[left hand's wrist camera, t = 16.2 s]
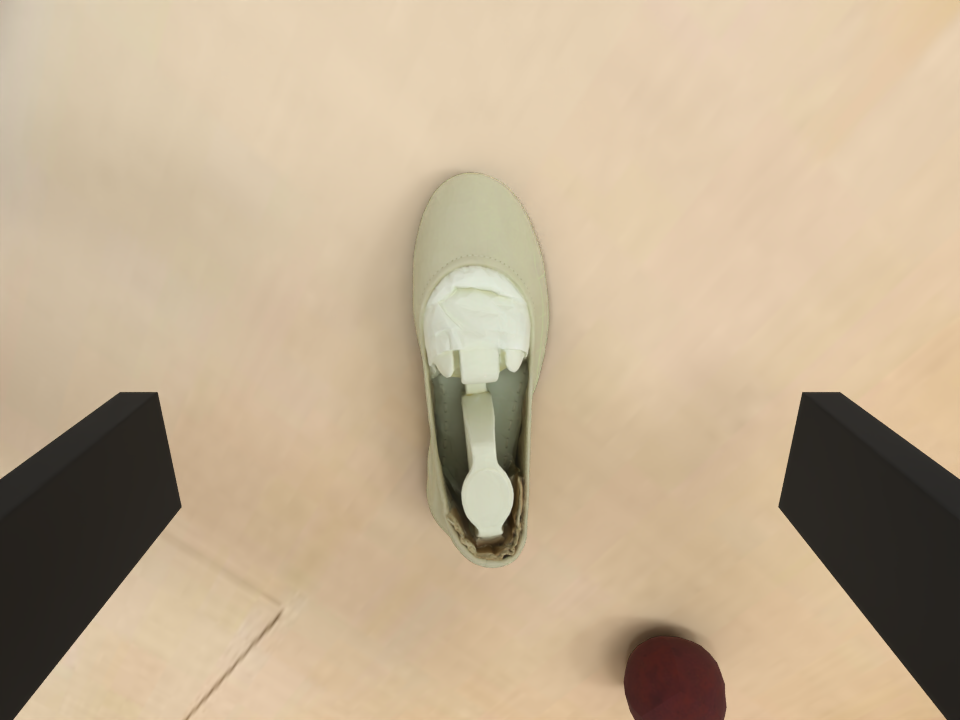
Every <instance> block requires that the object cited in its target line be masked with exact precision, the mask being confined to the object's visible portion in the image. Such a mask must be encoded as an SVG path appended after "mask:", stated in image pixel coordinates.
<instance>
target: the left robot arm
mask: <svg viewBox="0 0 960 720" xmlns="http://www.w3.org/2000/svg"><path fill="white" fill-rule="evenodd" d="M180 508H181V502H180V497H179V492H178V487H177V483H176V478H175V473H174V468H173V464H172V459H171V454H170V449H169V444H168V440H167V435H166V430H165V425H164V421H163V416H162V411H161V406H160V401H159V397H158V392H120V393H118V394H117V395H116V396H114V397H113V398H111V399H110V400H109V401H107V402H106V403H105V404H103V405H102V406H100V407H99V408H98V409H96V410H95V411H94V412H92V413H91V414H89V415H88V416H87V417H85V418H84V419H83V420H81V421H80V422H78V423H77V424H76V425H74V426H73V427H72V428H70V429H69V430H67V431H66V432H65V433H63V434H62V435H61V436H59V437H58V438H56V439H55V440H54V441H52V442H51V443H50V444H48V445H47V446H45V447H44V448H43V449H41V450H40V451H39V452H37V453H36V454H34V455H33V456H32V457H30V458H29V459H28V460H26V461H25V462H23V463H22V464H21V465H19V466H18V467H17V468H15V469H14V470H12V471H11V472H10V473H8V474H7V475H6V476H4V477H3V478H2V479H0V720H13V719H14V718H15V717H16V715H17V714H18V713H19V712H20V710H21V709H22V708H23V707H24V705H25V704H26V703H27V702H28V700H29V699H30V698H31V696H32V695H33V694H34V693H35V691H36V690H37V689H38V688H39V686H40V685H41V684H42V683H43V681H44V680H45V679H46V678H47V676H48V675H49V674H50V672H51V671H52V670H53V669H54V667H55V666H56V665H57V664H58V662H59V661H60V660H61V659H62V657H63V656H64V655H65V654H66V652H67V651H68V650H69V648H70V647H71V646H72V645H73V643H74V642H75V641H76V640H77V638H78V637H79V636H80V635H81V633H82V632H83V631H84V630H85V628H86V627H87V626H88V625H89V623H90V622H91V621H92V619H93V618H94V617H95V616H96V614H97V613H98V612H99V611H100V609H101V608H102V607H103V606H104V604H105V603H106V602H107V601H108V599H109V598H110V597H111V595H112V594H113V593H114V592H115V590H116V589H117V588H118V587H119V585H120V584H121V583H122V582H123V580H124V579H125V578H126V577H127V575H128V574H129V573H130V571H131V570H132V569H133V568H134V566H135V565H136V564H137V563H138V561H139V560H140V559H141V558H142V556H143V555H144V554H145V553H146V551H147V550H148V549H149V547H150V546H151V545H152V544H153V542H154V541H155V540H156V539H157V537H158V536H159V535H160V534H161V532H162V531H163V530H164V529H165V527H166V526H167V525H168V523H169V522H170V521H171V520H172V518H173V517H174V516H175V515H176V513H177V512H178V511H179V510H180ZM779 508H780V510H781V511H782V512H783V513H784V515H785V516H786V517H787V518H788V520H789V521H790V522H791V523H792V525H793V526H794V527H795V529H796V530H797V531H798V532H799V534H800V535H801V536H802V537H803V539H804V540H805V541H806V542H807V544H808V545H809V546H810V547H811V549H812V550H813V551H814V553H815V554H816V555H817V556H818V558H819V559H820V560H821V561H822V563H823V564H824V565H825V566H826V568H827V569H828V570H829V571H830V573H831V574H832V575H833V577H834V578H835V579H836V580H837V582H838V583H839V584H840V585H841V587H842V588H843V589H844V590H845V592H846V593H847V594H848V595H849V597H850V598H851V599H852V601H853V602H854V603H855V604H856V606H857V607H858V608H859V609H860V611H861V612H862V613H863V614H864V616H865V617H866V618H867V619H868V621H869V622H870V623H871V625H872V626H873V627H874V628H875V630H876V631H877V632H878V633H879V635H880V636H881V637H882V638H883V640H884V641H885V642H886V643H887V645H888V646H889V647H890V648H891V650H892V651H893V652H894V654H895V655H896V656H897V657H898V659H899V660H900V661H901V662H902V664H903V665H904V666H905V667H906V669H907V670H908V671H909V672H910V674H911V675H912V676H913V678H914V679H915V680H916V681H917V683H918V684H919V685H920V686H921V688H922V689H923V690H924V691H925V693H926V694H927V695H928V696H929V698H930V699H931V700H932V702H933V703H934V704H935V705H936V707H937V708H938V709H939V710H940V712H941V713H942V714H943V715H944V717H945V718H946V719H947V720H960V479H958V478H957V477H956V476H954V475H953V474H952V473H950V472H949V471H948V470H946V469H945V468H943V467H942V466H941V465H939V464H938V463H937V462H935V461H934V460H932V459H931V458H930V457H928V456H927V455H926V454H924V453H923V452H921V451H920V450H919V449H917V448H916V447H915V446H913V445H912V444H910V443H909V442H908V441H906V440H905V439H904V438H902V437H901V436H899V435H898V434H897V433H895V432H894V431H893V430H891V429H890V428H888V427H887V426H886V425H884V424H883V423H882V422H880V421H879V420H877V419H876V418H875V417H873V416H872V415H871V414H869V413H868V412H866V411H865V410H864V409H862V408H861V407H860V406H858V405H857V404H855V403H854V402H853V401H851V400H850V399H849V398H847V397H846V396H844V395H843V394H842V393H840V392H802V397H801V401H800V406H799V411H798V416H797V421H796V425H795V430H794V435H793V440H792V444H791V449H790V454H789V459H788V464H787V468H786V473H785V478H784V483H783V487H782V492H781V497H780V502H779Z"/></svg>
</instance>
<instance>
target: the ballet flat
mask: <svg viewBox="0 0 960 720" xmlns="http://www.w3.org/2000/svg"><path fill="white" fill-rule="evenodd" d="M413 314H414V321H415V327H416V333H417V339H418V343H419V347H420V351H421V357H422V362H423V370H424V382H425V392H426V401H427V410H428V420H429V426H430V434H431V440H430V446H429V452H428V459H427V475H428V479H427V487H426V493H427V499H428V504H429V508H430V511H431V513H432V515H433V517H434V519H435V520H436V522H437V523H438V525H439V526H440V527H441V528H442V529H443V530H444V531H445V532H446V533H447V535H448V536H449V537H450V538H451V539H452V542H453V543H454V545H455V546H456V548H457V549H458V550H459V551H460V553H461V554H462V555H463V556H464V557H466V558H467V559H468V560H469V561H471V562H472V563H474V564H476V565H479V566H482V567H487V568H497V567H503V566H506V565H508V564H510V563H512V562H513V561H515V560H516V559H517V558H518V556H519V555H520V553H521V551H522V549H523V547H524V545H525V543H526V538H527V520H528V505H529V472H530V444H531V414H532V395H533V393H534V391H535V388H536V386H537V383H538V379H539V375H540V371H541V367H542V363H543V359H544V355H545V347H546V342H547V336H548V325H549V303H548V292H547V284H546V277H545V270H544V263H543V259H542V255H541V251H540V248H539V245H538V242H537V239H536V236H535V233H534V230H533V228H532V225H531V222H530V220H529V218H528V216H527V214H526V212H525V210H524V209H523V207H522V205H521V204H520V202H519V201H518V199H517V198H516V196H515V195H514V194H513V192H512V191H511V190H510V189H509V188H508V187H507V186H506V185H504V184H503V183H502V182H500V181H499V180H497V179H495V178H493V177H490V176H488V175H485V174H480V173H463V174H459V175H456V176H454V177H452V178H450V179H448V180H447V181H445V182H444V183H443V184H441V185H440V187H439V188H438V189H437V190H436V191H435V192H434V194H433V195H432V197H431V198H430V200H429V202H428V204H427V207H426V209H425V211H424V213H423V216H422V220H421V223H420V226H419V230H418V234H417V238H416V244H415V250H414V255H413Z"/></svg>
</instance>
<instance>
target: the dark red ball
mask: <svg viewBox="0 0 960 720" xmlns="http://www.w3.org/2000/svg"><path fill="white" fill-rule="evenodd" d="M624 688H625V695H626V699H627V702H628V705H629V709H630V712H631V714H632V715H633V717H634V719H635V720H724V717H725V712H726V698H725V683H724V680H723V678H722V675H721V672H720V669H719V667H718V664H717V662H716V661H715V660H714V658H713V657H712V656H711V655H710V653H708V652H707V651H706V650H705V649H704V648H703V647H702V646H700V645H698V644H696V643H694V642H692V641H689V640H686V639H683V638H679V637H669V636H657V637H653V638H650V639H648V640H647V641H645V642H643V643H641V644H640V645H638V646H637V647H636V648H635V650H634V651H633V652H632V653H631V655H630V657H629V659H628V663H627V667H626V671H625V677H624Z"/></svg>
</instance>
